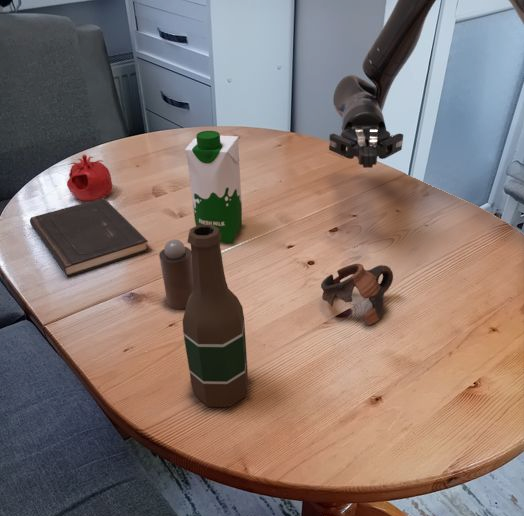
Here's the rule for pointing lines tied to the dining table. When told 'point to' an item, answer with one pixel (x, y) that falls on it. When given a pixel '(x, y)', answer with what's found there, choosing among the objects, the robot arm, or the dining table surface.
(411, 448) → the dining table surface
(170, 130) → the dining table surface
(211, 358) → the beer bottle
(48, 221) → the hardcover book
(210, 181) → the milk carton
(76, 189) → the pomegranate
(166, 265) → the roll-on deodorant
